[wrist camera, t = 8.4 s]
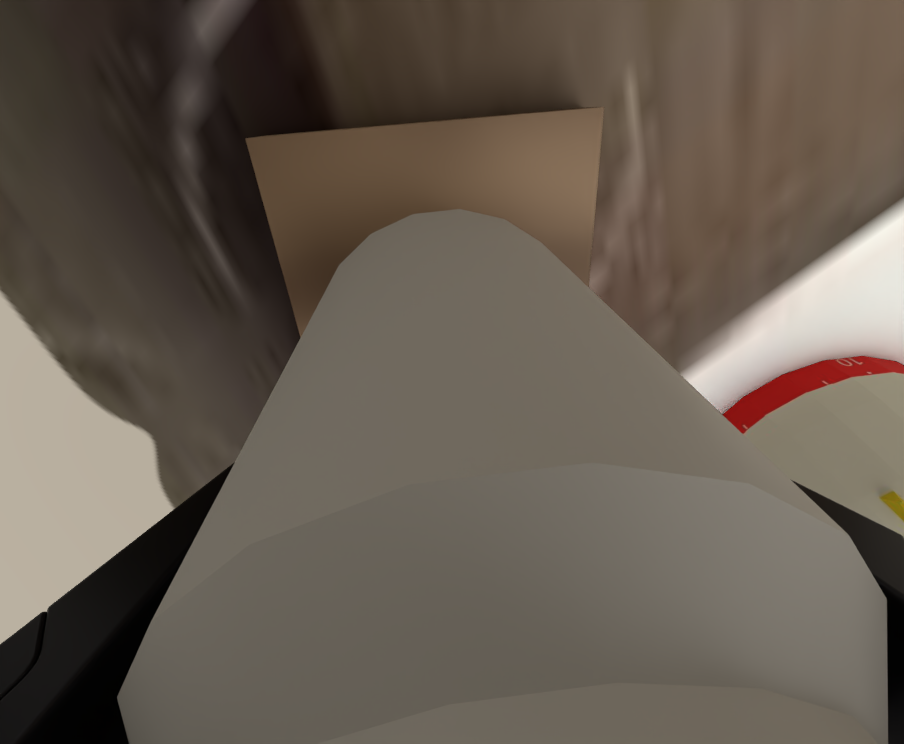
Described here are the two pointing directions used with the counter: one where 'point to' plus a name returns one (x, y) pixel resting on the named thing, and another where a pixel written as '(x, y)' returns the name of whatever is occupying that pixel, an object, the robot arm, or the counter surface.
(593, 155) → the brown flat square block
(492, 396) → the can
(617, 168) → the counter surface
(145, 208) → the counter surface
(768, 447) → the kitchen timer
